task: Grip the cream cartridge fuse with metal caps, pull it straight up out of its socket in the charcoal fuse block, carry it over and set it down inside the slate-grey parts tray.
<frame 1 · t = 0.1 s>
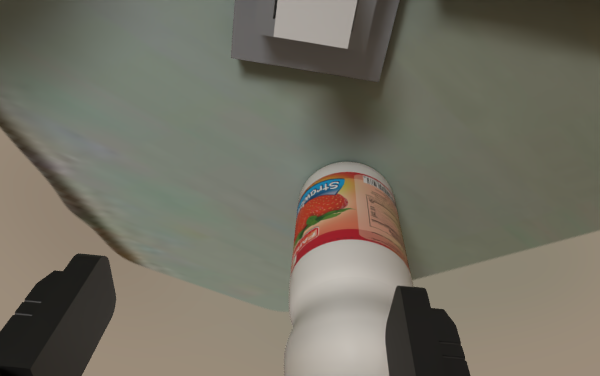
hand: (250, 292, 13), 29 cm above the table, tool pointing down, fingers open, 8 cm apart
fruit juice: (345, 198, 46), on the table
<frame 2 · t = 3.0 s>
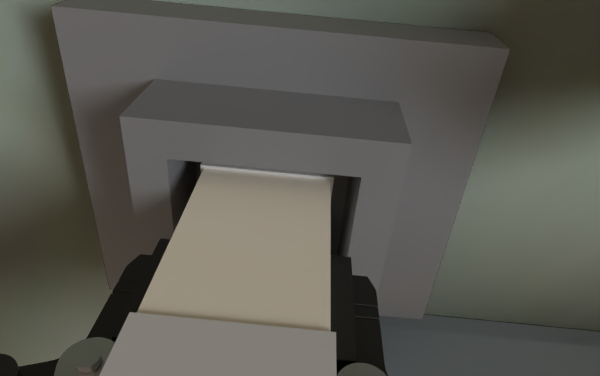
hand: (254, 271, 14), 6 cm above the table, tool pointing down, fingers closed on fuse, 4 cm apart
fuse block: (276, 165, 19), on the table
fuse: (271, 192, 17), point 2 cm above the table, touching fuse block, gripper
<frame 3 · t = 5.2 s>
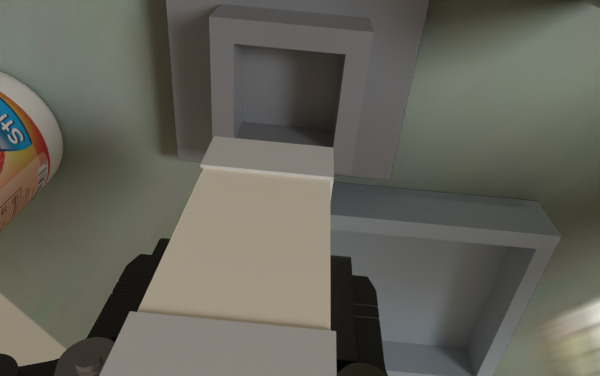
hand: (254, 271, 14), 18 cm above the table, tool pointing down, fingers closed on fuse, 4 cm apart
fuse block: (292, 71, 28), on the table
parts tray: (401, 274, 37), on the table
fruit juice: (1, 126, 32), on the table
fuse: (271, 191, 17), point 14 cm above the table, touching gripper
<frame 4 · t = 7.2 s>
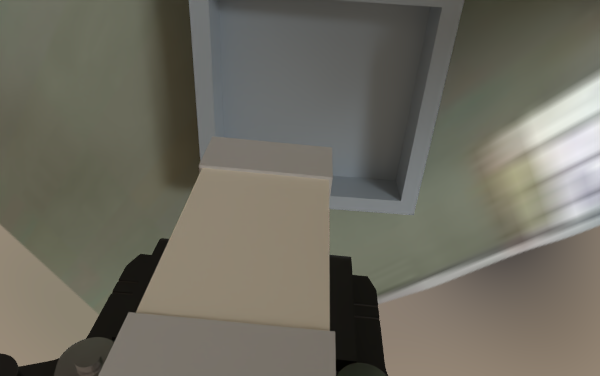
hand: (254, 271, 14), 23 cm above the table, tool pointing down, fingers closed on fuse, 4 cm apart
parts tray: (317, 87, 34), on the table
fuse: (269, 191, 17), point 19 cm above the table, touching gripper
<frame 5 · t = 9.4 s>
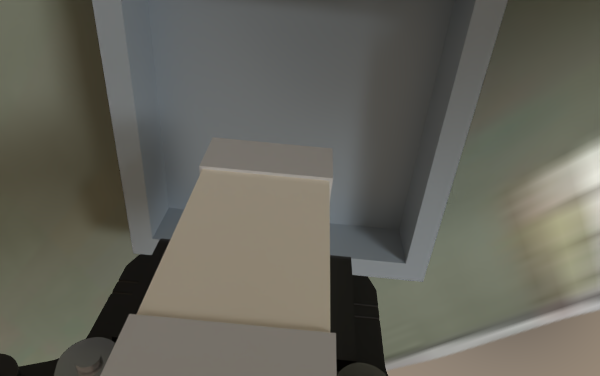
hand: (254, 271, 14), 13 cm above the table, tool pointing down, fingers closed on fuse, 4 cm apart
parts tray: (292, 103, 25), on the table
fuse: (270, 192, 17), point 9 cm above the table, touching gripper
when the fingers open (7 cm above the table, at t = 11.4 s): fuse drops 2 cm, resting on parts tray.
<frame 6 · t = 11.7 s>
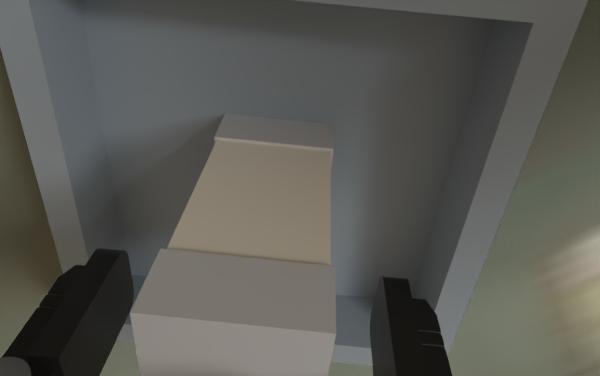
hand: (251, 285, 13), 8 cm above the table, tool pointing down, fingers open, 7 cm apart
parts tray: (278, 154, 20), on the table
fuse: (276, 166, 19), point 1 cm above the table, touching parts tray
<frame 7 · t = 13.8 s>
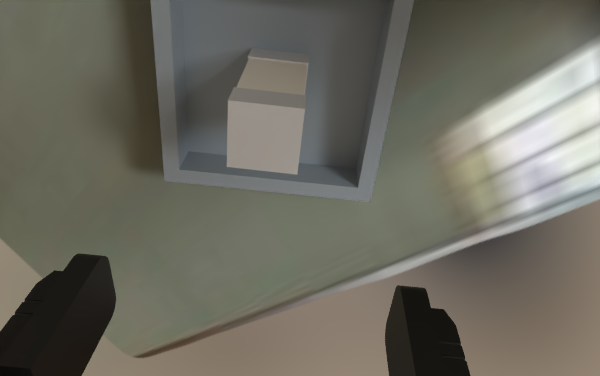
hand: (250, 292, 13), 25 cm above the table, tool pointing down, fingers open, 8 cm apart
parts tray: (279, 74, 35), on the table
fuse: (278, 79, 34), point 1 cm above the table, touching parts tray
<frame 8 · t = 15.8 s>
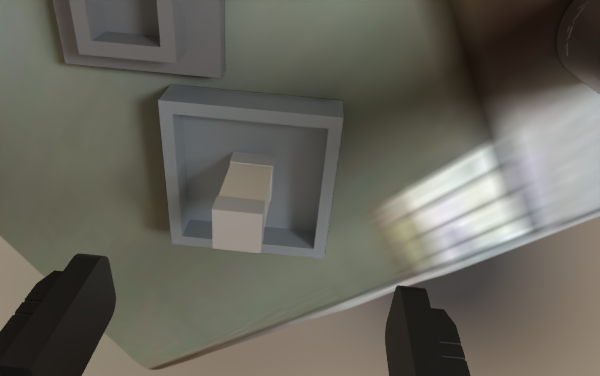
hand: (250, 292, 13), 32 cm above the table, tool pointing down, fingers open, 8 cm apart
parts tray: (254, 166, 48), on the table
fuse: (253, 171, 47), point 1 cm above the table, touching parts tray
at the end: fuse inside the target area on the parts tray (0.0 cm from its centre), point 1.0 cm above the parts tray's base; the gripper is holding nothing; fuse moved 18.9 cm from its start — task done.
